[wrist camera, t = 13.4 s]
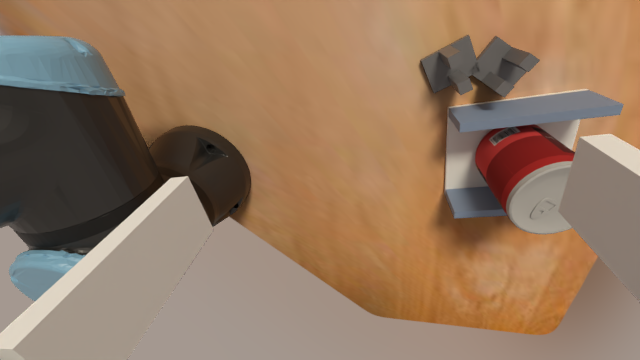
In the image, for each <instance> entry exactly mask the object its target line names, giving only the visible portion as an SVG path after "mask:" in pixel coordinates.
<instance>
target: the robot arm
mask: <svg viewBox="0 0 640 360" xmlns="http://www.w3.org/2000/svg"><path fill="white" fill-rule="evenodd" d="M123 96H125V93H124V91H123V90H121V89H120V88H119V87H118V85H117V83H116V81H115V79H114V77H113V76H112V74H111V72H110V70H109V68H108V66H107V65H106V63H105V61H104V59H103V57H102V56H101V54H100V53H99V52H98V51H97V50H96V49H95V48H94V47H93V46H91V45H90V44H88V43H86V42H84V41H82V40H79V39H76V38H71V37H61V36H0V228H2V227H4V226H10V227H11V228H12V229H13V230H14V231H15V232H16V233H17V234H18V236H19V237H20V238H21V239H22V240H23V241H24V242H25V243H26V244H27V246H28V247H29V250H28V251H26V252H23V253H21V254H20V255H18V256H17V258H16V260H15V262H14V263H13V264H12V265H11V266H10V269H9V274H10V276H11V281H12V282H13V284H14V285H15V286H16V287H17V288H18V289H19V290H20V291H21V292H22V293H24V294H25V295H26V296H28V297H29V298H31V299H32V300H34V301H35V302H34V303H33V304H32V305H31V306H30V307H29V308H28V309H26V310H25V311H24V312H23V313H22V314H21V315H20V316H19V317H18V318H17V319H15V320H14V321H13V322H12V323H11V324H10V325H9V326H8V327H7V328H6V329H5V330H3V331H2V332H1V333H0V360H128V358H129V357H130V355H131V354H132V352H133V351H134V349H135V348H136V346H137V345H138V343H139V341H140V340H141V339H142V337H143V336H144V334H145V333H146V331H147V329H148V328H149V326H150V325H151V324H152V322H153V320H154V319H155V318H156V316H157V314H158V313H159V312H160V310H161V309H162V307H163V305H164V304H165V302H166V301H167V300H168V298H169V297H170V295H171V294H172V292H173V291H174V289H175V288H176V286H177V284H178V283H179V281H180V280H181V279H182V277H183V275H184V274H185V272H186V271H187V269H188V268H189V266H190V265H191V263H192V262H193V260H194V259H195V257H196V256H197V254H198V253H199V251H200V250H201V248H202V247H203V245H204V244H205V242H206V241H207V239H208V238H209V236H210V235H211V233H212V232H213V230H214V229H213V226H215V225H216V224H218V223H219V222H221V221H222V220H224V219H225V218H227V217H228V216H230V215H231V214H233V213H234V212H236V211H237V210H238V209H239V208H240V206H241V205H242V203H243V202H244V200H245V199H246V197H247V195H248V193H249V190H250V184H251V179H250V172H249V169H248V166H247V164H246V162H245V160H244V158H243V156H242V155H241V154H240V152H239V151H238V150H237V149H236V148H235V146H234V145H232V144H231V143H230V142H229V141H228V140H227V139H225V138H224V137H222V136H221V135H219V134H217V133H215V132H213V131H211V130H209V129H206V128H202V127H198V126H180V127H176V128H173V129H171V130H169V131H167V132H166V133H164V134H163V135H161V136H160V137H158V138H157V139H156V140H155V141H154V142H153V143H152V145H151V146H150V148H149V149H148V147H147V145H146V143H145V141H144V139H143V137H142V134H141V132H140V130H139V128H138V126H137V124H136V122H135V120H134V118H133V116H132V113H131V111H130V109H129V107H128V105H127V103H126V101H125V99H124V97H123ZM558 212H559V213H560V214H561V215H562V216H563V217H564V219H565V220H566V221H567V222H568V223H569V224H570V225H571V226H572V227H573V229H574V230H575V231H576V232H577V233H578V234H579V235H580V236H581V238H582V239H583V240H584V241H585V242H586V243H587V244H588V245H589V246H590V248H591V249H592V250H593V251H594V252H595V253H596V254H597V255H598V256H599V258H600V259H601V260H602V261H603V262H604V263H605V264H606V265H607V266H608V268H609V269H610V270H611V271H612V272H613V273H614V274H615V275H616V276H617V278H618V279H619V280H620V281H621V282H622V283H623V284H624V285H625V287H626V288H627V289H628V290H629V291H630V292H631V293H632V294H633V296H634V297H635V298H636V299H637V300H638V301H639V302H640V150H639V149H637V148H635V147H633V146H632V145H630V144H628V143H626V142H624V141H623V140H621V139H619V138H617V137H615V136H614V135H612V134H604V135H594V136H584V137H579V141H578V144H577V148H576V151H575V155H574V158H573V162H572V165H571V168H570V172H569V175H568V179H567V182H566V186H565V189H564V193H563V196H562V199H561V203H560V206H559V210H558Z"/></svg>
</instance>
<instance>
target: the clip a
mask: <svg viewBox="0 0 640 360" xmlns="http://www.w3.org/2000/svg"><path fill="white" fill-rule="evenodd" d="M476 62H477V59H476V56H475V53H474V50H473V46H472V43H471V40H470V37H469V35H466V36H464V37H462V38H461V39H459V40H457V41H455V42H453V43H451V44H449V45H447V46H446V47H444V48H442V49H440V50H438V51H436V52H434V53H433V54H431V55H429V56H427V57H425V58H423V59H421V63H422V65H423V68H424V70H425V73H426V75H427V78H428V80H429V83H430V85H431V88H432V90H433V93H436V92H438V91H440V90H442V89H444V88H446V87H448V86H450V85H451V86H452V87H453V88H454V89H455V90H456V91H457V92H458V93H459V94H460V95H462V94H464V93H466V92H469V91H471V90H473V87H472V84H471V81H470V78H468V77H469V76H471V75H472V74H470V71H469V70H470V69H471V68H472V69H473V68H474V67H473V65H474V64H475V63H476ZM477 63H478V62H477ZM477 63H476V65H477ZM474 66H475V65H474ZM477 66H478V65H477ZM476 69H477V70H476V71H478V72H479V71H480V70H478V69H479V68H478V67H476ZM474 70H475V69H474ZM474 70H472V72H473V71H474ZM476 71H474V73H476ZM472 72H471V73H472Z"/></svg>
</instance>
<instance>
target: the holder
mask: <svg viewBox="0 0 640 360" xmlns="http://www.w3.org/2000/svg"><path fill="white" fill-rule="evenodd" d="M622 107H623V104H622V103H619V102H617V101H614V100H612V99H609V98H607V97H605V96H602V95H600V94H597V93H595V92H592V91H590V90H587V89H580V90H573V91H565V92H557V93H550V94H542V95H534V96H527V97H519V98H511V99H504V100H496V101H488V102H481V103H473V104H465V105H458V106H450V107H448V112H447V137H446V163H445V189H444V194H445V196H446V199H447V201H448V204H449V207H450V209H451V212H452V214H453V217H454V218H471V217H490V216H507V214H506V213H505V212H504V210H503V208H502V207H501V205H500V204H499V202H498V201H497V199H496V197H495V196H494V194H493V193H492V191H491V190H490V188H489V186H488V185H487V183H486V182H485V180H484V179H483V177H482V176H481V174H480V172H479V171H478V169H477V167H476V163H475V154H476V150H477V147H478V145H479V143H480V141H481V140H482V139H483V137H484V136H485V135H486V134H487V133H489V132H490V131H491V130H493V129H496V128H505V127H514V126H523V125H532V124H535V125H537V126H539V127H540V128H542V129H543V130H544V131H546V132H547V133H549V134H550V135H551V136H553V137H554V138H555V139H557V140H558V141H560V142H561V143H562V144H564V145H565V146H566V147H568V148H569V149H571V150H572V147H573V144H574V140H575V137H576V133H577V130H578V126H579V123H580V119H586V118H595V117H604V116H613V115H620V113H621V110H622Z"/></svg>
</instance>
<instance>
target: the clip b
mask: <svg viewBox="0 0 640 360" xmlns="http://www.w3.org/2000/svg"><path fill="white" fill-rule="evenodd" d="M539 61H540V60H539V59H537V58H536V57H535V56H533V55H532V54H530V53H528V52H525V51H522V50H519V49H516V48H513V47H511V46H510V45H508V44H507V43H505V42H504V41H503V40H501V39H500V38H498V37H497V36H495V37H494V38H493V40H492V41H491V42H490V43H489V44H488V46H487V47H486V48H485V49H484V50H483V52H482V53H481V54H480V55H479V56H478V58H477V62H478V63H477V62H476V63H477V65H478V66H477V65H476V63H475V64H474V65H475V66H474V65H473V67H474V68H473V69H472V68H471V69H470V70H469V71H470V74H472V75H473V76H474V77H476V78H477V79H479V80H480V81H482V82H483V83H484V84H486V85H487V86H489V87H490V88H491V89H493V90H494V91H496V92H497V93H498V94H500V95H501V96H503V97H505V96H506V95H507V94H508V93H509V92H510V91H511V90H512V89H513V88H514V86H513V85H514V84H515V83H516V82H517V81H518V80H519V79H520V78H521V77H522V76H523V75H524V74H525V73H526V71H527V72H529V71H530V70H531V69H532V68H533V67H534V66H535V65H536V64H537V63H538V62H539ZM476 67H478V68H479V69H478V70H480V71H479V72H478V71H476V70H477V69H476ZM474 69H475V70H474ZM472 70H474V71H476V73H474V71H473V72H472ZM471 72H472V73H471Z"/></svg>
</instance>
